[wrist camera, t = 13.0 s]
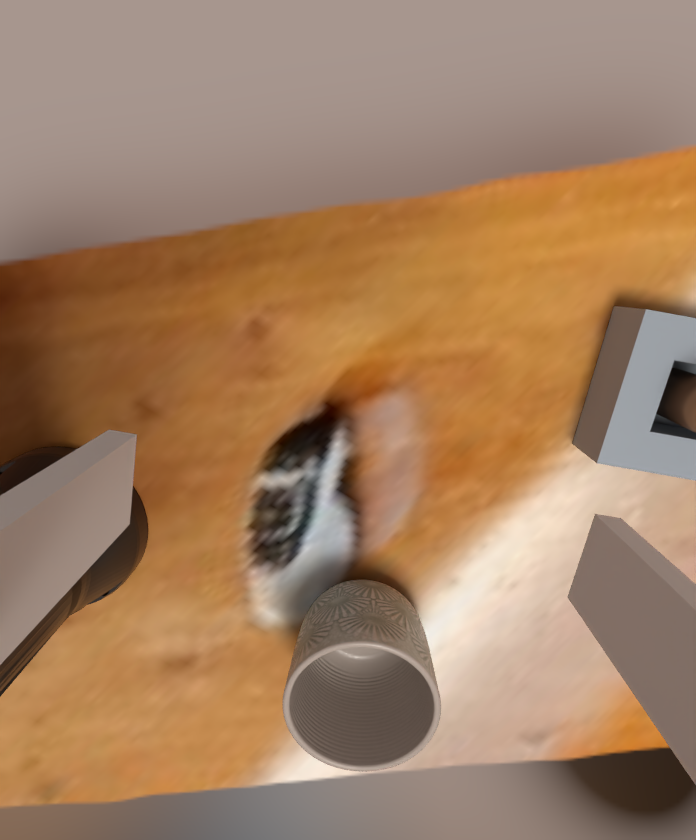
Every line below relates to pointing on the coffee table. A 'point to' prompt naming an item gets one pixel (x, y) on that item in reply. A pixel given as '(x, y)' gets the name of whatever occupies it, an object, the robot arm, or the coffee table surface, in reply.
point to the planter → (362, 679)
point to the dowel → (679, 399)
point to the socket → (639, 394)
